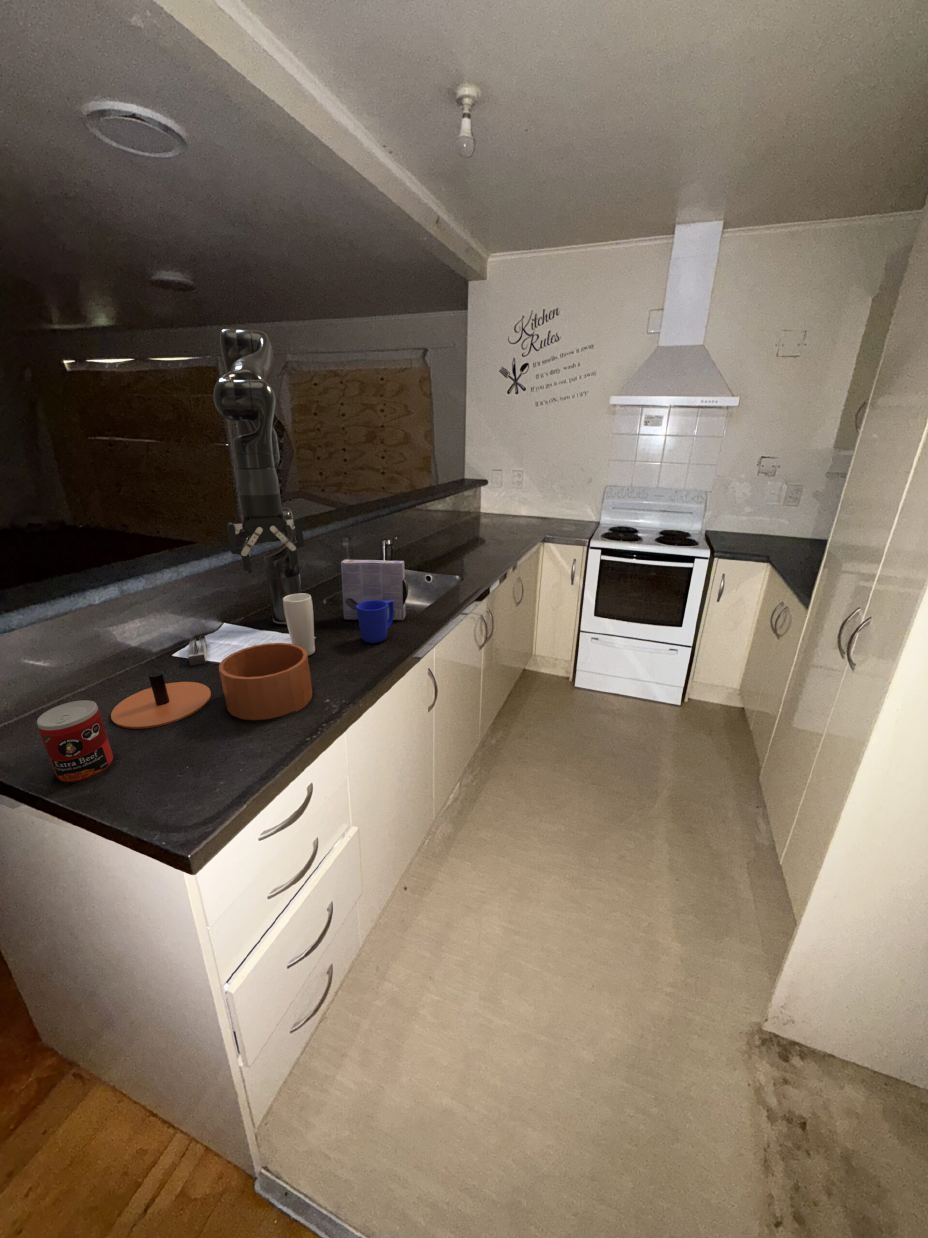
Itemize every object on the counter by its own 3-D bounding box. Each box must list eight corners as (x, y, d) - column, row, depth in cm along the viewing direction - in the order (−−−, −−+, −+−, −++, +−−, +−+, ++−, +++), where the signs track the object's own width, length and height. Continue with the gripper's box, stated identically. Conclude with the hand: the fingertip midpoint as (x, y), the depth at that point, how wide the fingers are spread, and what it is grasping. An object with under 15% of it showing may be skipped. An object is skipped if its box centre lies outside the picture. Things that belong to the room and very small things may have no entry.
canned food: (52, 791, 76) (29, 731, 72) (63, 762, 82) (43, 706, 78) (111, 776, 79) (92, 718, 75) (117, 749, 86) (100, 695, 82)
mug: (405, 633, 135) (403, 599, 132) (375, 648, 126) (372, 612, 122) (382, 627, 139) (380, 594, 136) (352, 641, 130) (349, 606, 126)
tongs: (191, 648, 126) (189, 637, 125) (206, 645, 128) (204, 635, 127) (190, 668, 116) (187, 656, 114) (206, 665, 117) (204, 654, 116)
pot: (226, 691, 105) (218, 651, 102) (305, 675, 112) (300, 637, 108) (229, 730, 91) (219, 686, 88) (318, 709, 98) (313, 667, 94)
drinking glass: (322, 648, 126) (315, 593, 121) (312, 659, 120) (304, 602, 114) (297, 647, 127) (289, 592, 121) (286, 658, 120) (277, 601, 115)
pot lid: (119, 697, 103) (110, 665, 100) (211, 679, 110) (205, 649, 107) (104, 741, 88) (92, 705, 85) (211, 717, 95) (204, 683, 93)
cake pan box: (409, 615, 149) (407, 558, 142) (407, 621, 144) (404, 563, 138) (347, 614, 149) (342, 558, 143) (343, 620, 144) (337, 563, 138)
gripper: (293, 487, 102) (303, 561, 108) (219, 491, 96) (233, 569, 102) (299, 491, 96) (309, 570, 102) (220, 495, 90) (236, 579, 96)
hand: (271, 569), depth 102 cm, fingers open, 8 cm apart
